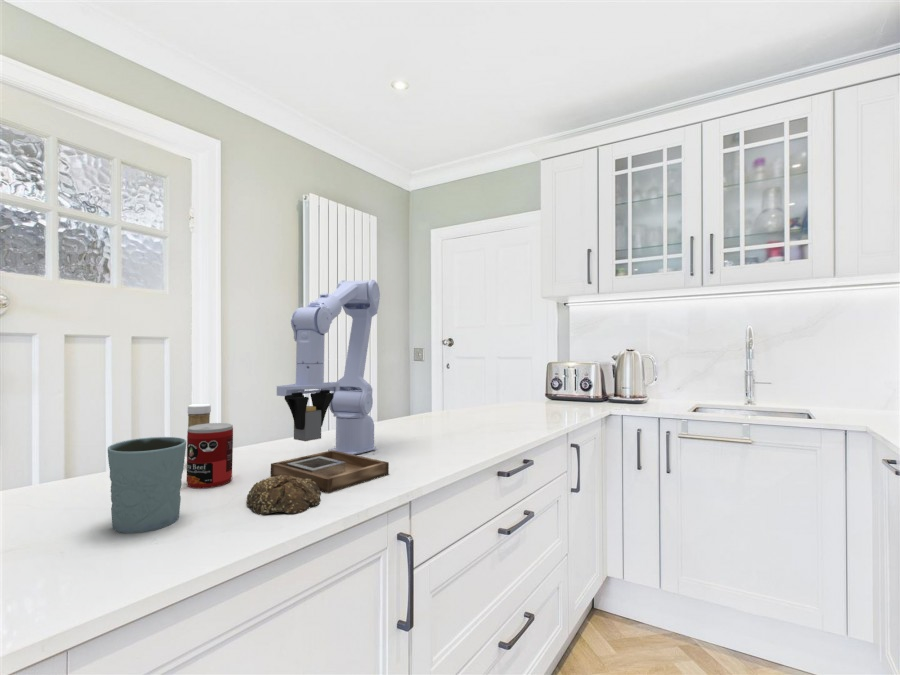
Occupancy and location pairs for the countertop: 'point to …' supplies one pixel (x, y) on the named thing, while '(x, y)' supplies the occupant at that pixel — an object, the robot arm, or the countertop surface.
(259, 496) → the bread roll
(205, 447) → the canned food
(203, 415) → the sprinkles bottle
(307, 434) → the block
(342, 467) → the socket
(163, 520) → the green plant pot
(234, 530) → the countertop surface
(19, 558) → the countertop surface
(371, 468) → the tray
